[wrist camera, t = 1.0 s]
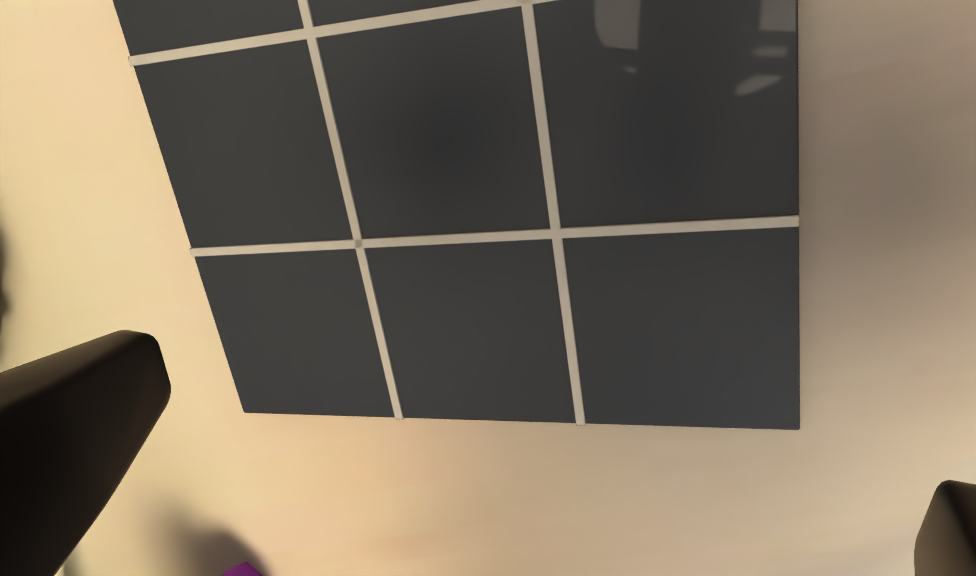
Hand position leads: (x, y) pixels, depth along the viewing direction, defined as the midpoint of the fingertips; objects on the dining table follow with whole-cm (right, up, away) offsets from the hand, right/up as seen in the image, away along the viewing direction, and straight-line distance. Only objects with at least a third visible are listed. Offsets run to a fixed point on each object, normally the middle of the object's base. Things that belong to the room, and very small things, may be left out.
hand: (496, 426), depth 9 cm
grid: (-1, +6, +14) cm, 16 cm away
